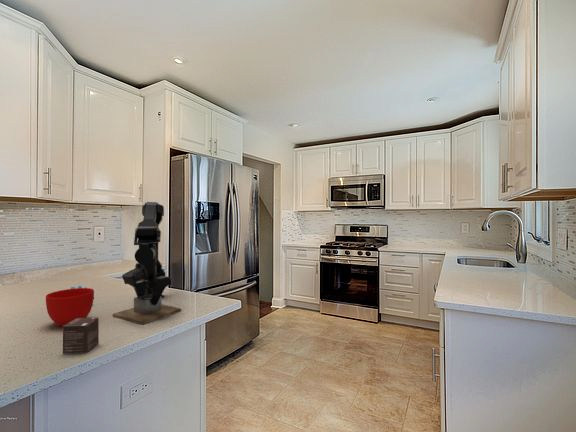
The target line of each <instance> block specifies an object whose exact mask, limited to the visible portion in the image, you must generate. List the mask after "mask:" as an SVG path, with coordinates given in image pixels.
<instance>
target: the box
mask: <svg viewBox="0 0 576 432" xmlns="http://www.w3.org/2000/svg"><path fill="white" fill-rule="evenodd" d="M99 327H100V325H99V317H86V318H76V319H74V320H73V321H71V322H69V323H67V324H65V325H64V326H63V327H62V354H64V355H70V354H88V353H89V351H91V350H92V349H93V348H95V347H96V345H98V344H99V341H100V340H99V338H100V337H99Z"/></svg>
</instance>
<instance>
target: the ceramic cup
mask: <svg viewBox="0 0 576 432" xmlns="http://www.w3.org/2000/svg"><path fill="white" fill-rule="evenodd" d="M94 300H95V290H94V288H90V287H89V288H88V287H86V288H85V287H82V288H78V287H75V289H71V288H67V289H60V290H56V291H53V292H50V293H48V294H46V295H45V307H46V311H47V314H48V316H49V319H51V321H52V322H53V323H55V324H56V325H57V326H58V327H62V328H63V326H64V325H65V324H67V323H69V322H71V321H73V320H74V319H76V318H88V315H90V313H91V311H92V308H93V304H94Z"/></svg>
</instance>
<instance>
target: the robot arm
mask: <svg viewBox="0 0 576 432" xmlns="http://www.w3.org/2000/svg"><path fill="white" fill-rule="evenodd" d="M141 215H142V216H143V219H142V221H140V222H139V223H138V224H137V227H136V228H135V229H134V231H135V232H134V238H133V239H134V241H133V246H138V249H136V250H135V253H134V259H135V261H136V264H135V265H134V266H135V267H134V268H133V269H130V270H129V271H127V272H125V273H123V274H122V275H121V277H122V280H123V282H124V284H125V285H129V286H131V287H132V288H133V290H134V292H135V294H136V297H140V296H144V295H148V294H152V298H153V305H157V303H158V301H159V299H160V297H161V298H163V297H165V295H164V294H163V293H164V290H165V289H166V287H168V286H171V285H172V278H171V277H170V276H167V275H166V271H165V269H164V268H163V264H162V262H161V261H160V260H159V243H161V240H162V239H161V238H162V237H161V235H162V232H161V230H160V228H159V226H160V225H161V223H162V222H163V217H165V206H164V205H163V204H159V202H157V201H156V202H155V201H146V202H144V204H143V205H142V206H141Z"/></svg>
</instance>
